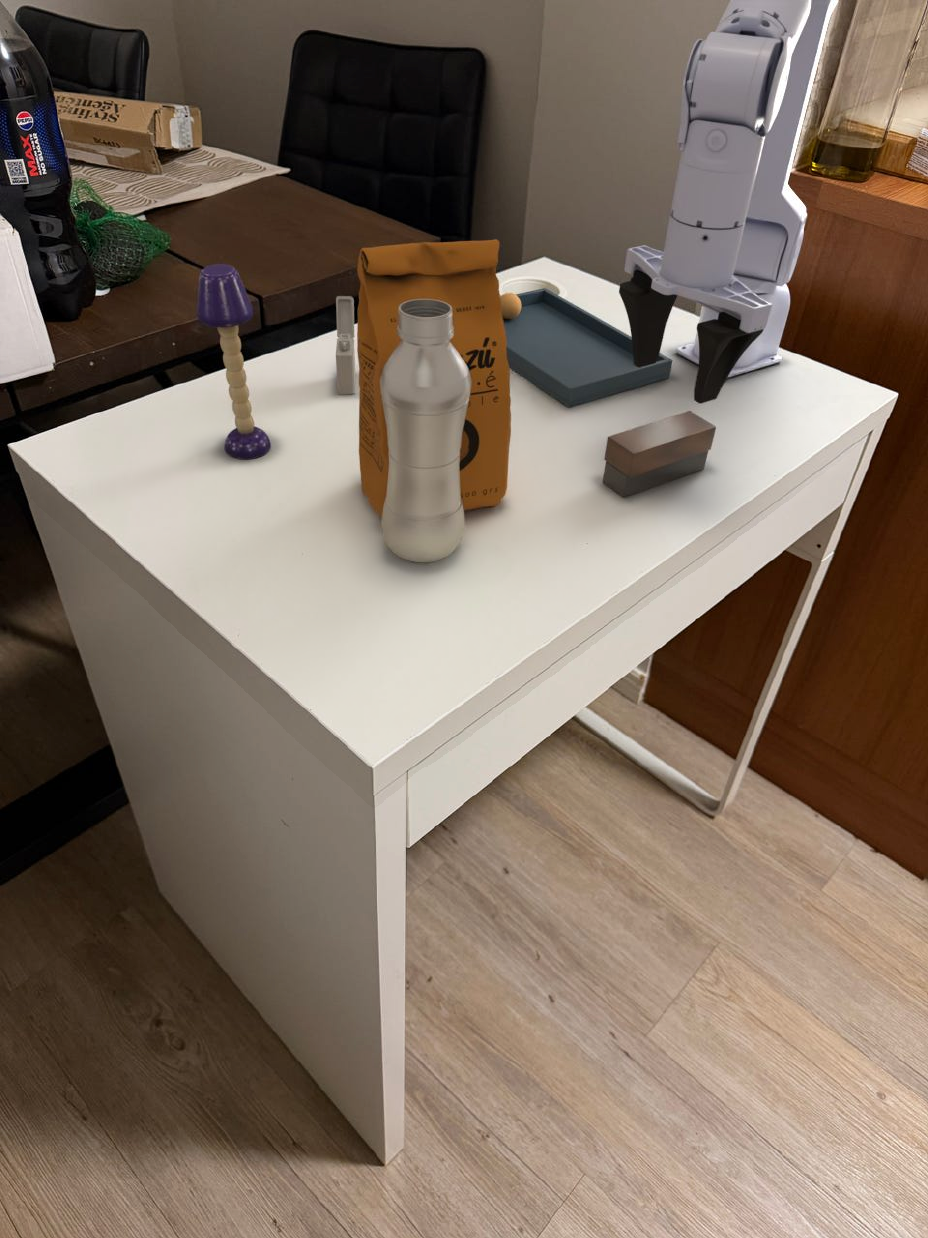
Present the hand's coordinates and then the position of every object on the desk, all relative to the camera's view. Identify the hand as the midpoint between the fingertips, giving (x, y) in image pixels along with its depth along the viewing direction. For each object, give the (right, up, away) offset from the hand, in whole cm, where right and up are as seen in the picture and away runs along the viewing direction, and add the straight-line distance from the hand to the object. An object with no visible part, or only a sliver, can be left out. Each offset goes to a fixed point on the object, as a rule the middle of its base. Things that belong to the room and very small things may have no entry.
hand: (674, 381), depth 79 cm
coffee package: (-21, -10, +2) cm, 23 cm away
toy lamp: (-39, -5, +7) cm, 40 cm away
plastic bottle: (-22, -15, -4) cm, 27 cm away
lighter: (-31, +5, +19) cm, 36 cm away
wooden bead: (-13, +17, +30) cm, 36 cm away
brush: (-1, -7, +6) cm, 9 cm away
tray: (-8, +10, +26) cm, 29 cm away
